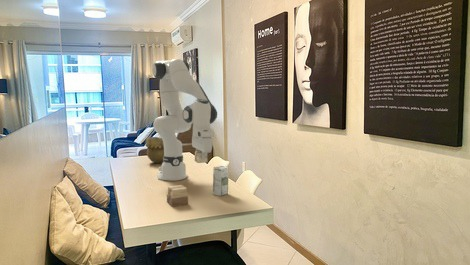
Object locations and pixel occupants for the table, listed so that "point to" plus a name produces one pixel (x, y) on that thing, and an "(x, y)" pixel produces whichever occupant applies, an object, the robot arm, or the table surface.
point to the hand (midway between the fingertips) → (201, 158)
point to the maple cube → (198, 157)
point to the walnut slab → (177, 201)
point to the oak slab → (177, 191)
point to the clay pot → (155, 149)
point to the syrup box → (220, 180)
